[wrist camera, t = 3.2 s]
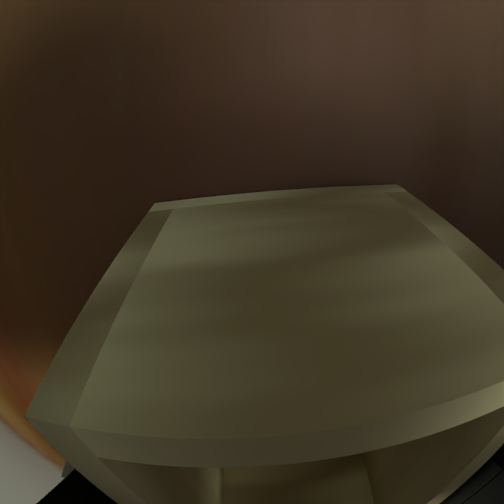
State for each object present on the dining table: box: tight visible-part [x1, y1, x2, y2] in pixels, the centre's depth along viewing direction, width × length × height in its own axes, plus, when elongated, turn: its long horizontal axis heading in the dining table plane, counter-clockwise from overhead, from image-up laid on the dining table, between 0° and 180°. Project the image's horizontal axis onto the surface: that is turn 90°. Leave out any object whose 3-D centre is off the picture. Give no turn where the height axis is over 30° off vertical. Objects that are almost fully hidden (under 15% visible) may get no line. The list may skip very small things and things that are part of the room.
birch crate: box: [24, 184, 504, 504], centre depth 7 cm, size 6×9×6 cm, turn 5°
